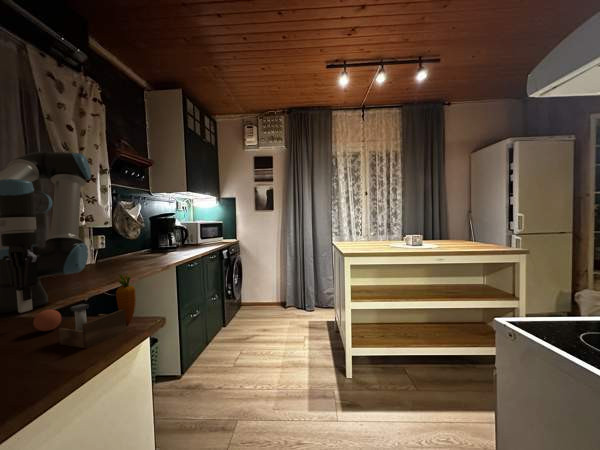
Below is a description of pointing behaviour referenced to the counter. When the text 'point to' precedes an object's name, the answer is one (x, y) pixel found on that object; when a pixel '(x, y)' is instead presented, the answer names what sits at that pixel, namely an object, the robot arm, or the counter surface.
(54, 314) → the ball
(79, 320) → the pin
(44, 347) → the counter surface
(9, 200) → the robot arm
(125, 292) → the carrot
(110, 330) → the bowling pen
